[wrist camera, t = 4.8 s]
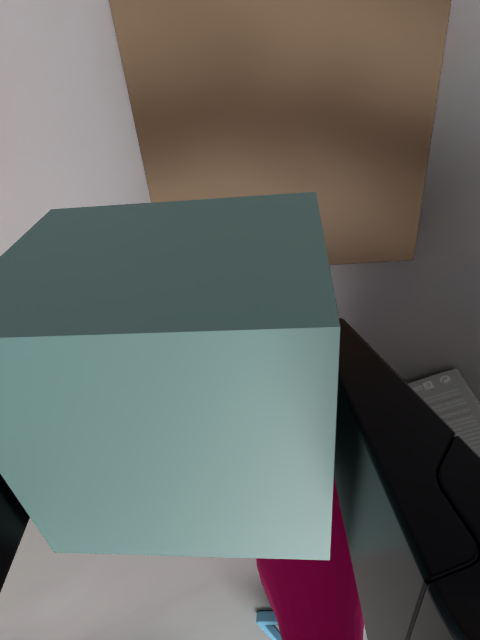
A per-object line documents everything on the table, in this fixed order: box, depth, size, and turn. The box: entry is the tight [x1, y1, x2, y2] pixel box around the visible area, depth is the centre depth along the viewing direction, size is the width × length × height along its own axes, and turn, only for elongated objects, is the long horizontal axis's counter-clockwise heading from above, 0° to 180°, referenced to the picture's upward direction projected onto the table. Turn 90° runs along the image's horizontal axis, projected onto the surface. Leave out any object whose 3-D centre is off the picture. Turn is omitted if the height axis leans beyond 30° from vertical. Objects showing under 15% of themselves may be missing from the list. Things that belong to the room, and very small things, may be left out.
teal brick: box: [0, 192, 340, 560], centre depth 8 cm, size 5×5×4 cm
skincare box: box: [408, 369, 480, 456], centre depth 20 cm, size 8×7×16 cm
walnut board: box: [109, 0, 451, 265], centre depth 17 cm, size 11×11×1 cm
